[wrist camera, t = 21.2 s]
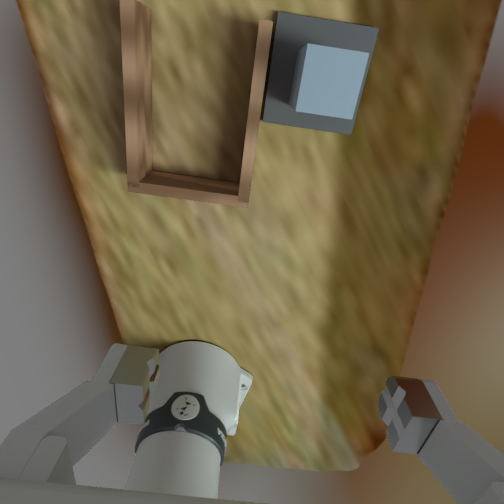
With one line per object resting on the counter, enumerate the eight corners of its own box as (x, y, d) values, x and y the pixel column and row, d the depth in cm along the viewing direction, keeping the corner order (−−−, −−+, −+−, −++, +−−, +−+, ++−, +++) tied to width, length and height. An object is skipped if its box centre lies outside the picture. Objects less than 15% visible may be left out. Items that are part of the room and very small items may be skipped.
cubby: (249, 193, 41) (247, 207, 36) (142, 179, 40) (127, 191, 36) (271, 29, 33) (273, 21, 28) (138, 7, 32) (119, -4, 28)
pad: (349, 134, 37) (351, 134, 37) (262, 121, 37) (262, 121, 36) (377, 29, 32) (379, 28, 32) (277, 12, 32) (278, 11, 31)
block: (334, 111, 35) (352, 119, 28) (288, 104, 35) (295, 111, 28) (346, 58, 33) (369, 53, 26) (297, 51, 33) (307, 43, 26)
